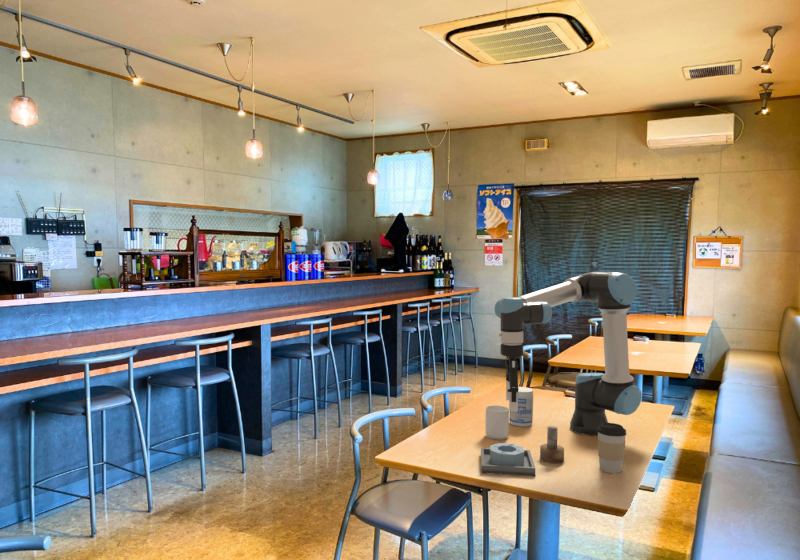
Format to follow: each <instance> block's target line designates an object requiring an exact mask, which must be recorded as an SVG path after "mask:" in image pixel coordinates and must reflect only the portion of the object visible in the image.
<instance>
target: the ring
mask: <svg viewBox="0 0 800 560" xmlns="http://www.w3.org/2000/svg"><path fill="white" fill-rule="evenodd" d="M489 448H490V463H491V464H493V465H503V466H523V465H524V450H525V448H524V447H523V446H520V445H517V444H516V443H515V444H514V443H509V442H508V443H507V442H506V443H504V442H498V443H495V444H491V445H490V446H489Z"/></svg>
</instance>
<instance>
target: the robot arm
mask: <svg viewBox="0 0 800 560" xmlns="http://www.w3.org/2000/svg"><path fill="white" fill-rule="evenodd" d="M637 295H638V288H637V285H636V282H635V280H634V278H632V277H631V276H630V275H629V274H627V273H624V272H618V271H617V272H616V271H615V272H614V271H591V272H589V271H588V272H585V273H582V274H579V275H575V276H572V277H569V278H566V279H565V280H564V281H563V282H562V283H559V284H555V285H552V286H549V287H546V288H542V289H539V290H535V291H533V292H529V293H527V294H523V295H521V296H516V297H514V296H513V297H507V296H506V297H503V298H501V299H498V300H497V301H496V303H495V305H494V307H493V308H494V313H495V315H496V317H498V318H499V319H500V333H498V337H500V342H501V344H500V354H501V355H502V356H504V357H506V359H505V361H504V362H505V369H506V370H505V371H506V372H505V381H506V382H505V385H506V386H505V395H506V396H505V400H506V401H508V409H509V412H510V411H513V412H518V390H519V389H518V387H519V377H518V376H519V375H518V373H519V361H518V359H517V357H521V356H523V355H524V344H523V343H524V326H527V325H538V324H539V325H542V324H547V323H548V322H549V321H550V320H551V318H552V316H553V307H557V306H560V305H563V304H566V303H568V302H571V303H578V302H583V301H584V302H597V309H598V310H599V311H600V312H601V313H602V314H601V315H602V333H603V334H602V337H603V356H604V357H603V358H604V369H605V370H604V373H603V372H586V373H585V372H583V373H579V374H577V375H576V377H575V383H574V399H575V400H574V411H573V413H572V417H571V419H570V422H569V429H570V430H571V431H573V432H574V433H577V434H580V435H581V434H582V435H586V436H598V431H597V430H598V427H599V426H601V424H603V423H609V420H608V418H607V414H606V411H609V412H612V413H615V414H617V415H624V416H629V415H632V414H634V413H635V412H636V411H637V410H638V408H639V407H640V405H641V402H642V395H643V394H642V391H641V389H640V387H638V386H637V385H635V378H634V376H632V375H631V373H630V365H629V364H630V360H629V341H628V337H629V336H628V320H627V318H628V316H627V312H628V311H629V310H630V309H631V304H633V303H634V302H635V300H636V297H637ZM514 387H515V388H514Z"/></svg>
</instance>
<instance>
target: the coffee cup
mask: <svg viewBox="0 0 800 560" xmlns="http://www.w3.org/2000/svg"><path fill="white" fill-rule="evenodd" d="M597 431H598V435H597V451H598V453H597V454H598V459H599V460H598V461H599V469H600V470H601V471H602V472H605V473H608V474H621V471H622V472H623V465H624V463H623V462H624V459H625V458H624V457H625V447H626V435H627V430H626V429H625V428H624V426H623V425H621V424H618V423H614V422H608V423H603V424H601V426H599V427H598V430H597Z"/></svg>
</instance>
